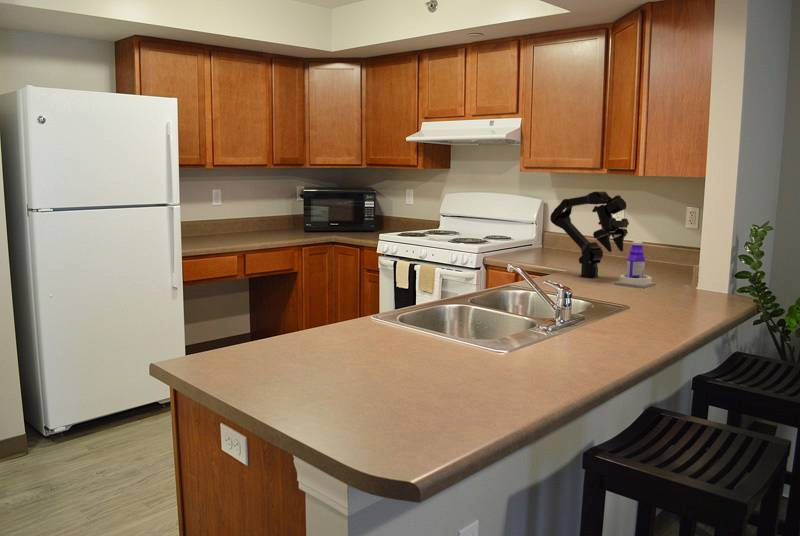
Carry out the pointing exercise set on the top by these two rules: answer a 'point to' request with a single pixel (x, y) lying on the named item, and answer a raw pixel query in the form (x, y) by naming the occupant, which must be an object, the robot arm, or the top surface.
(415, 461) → the top surface
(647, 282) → the dock
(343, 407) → the top surface
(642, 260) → the bottle
